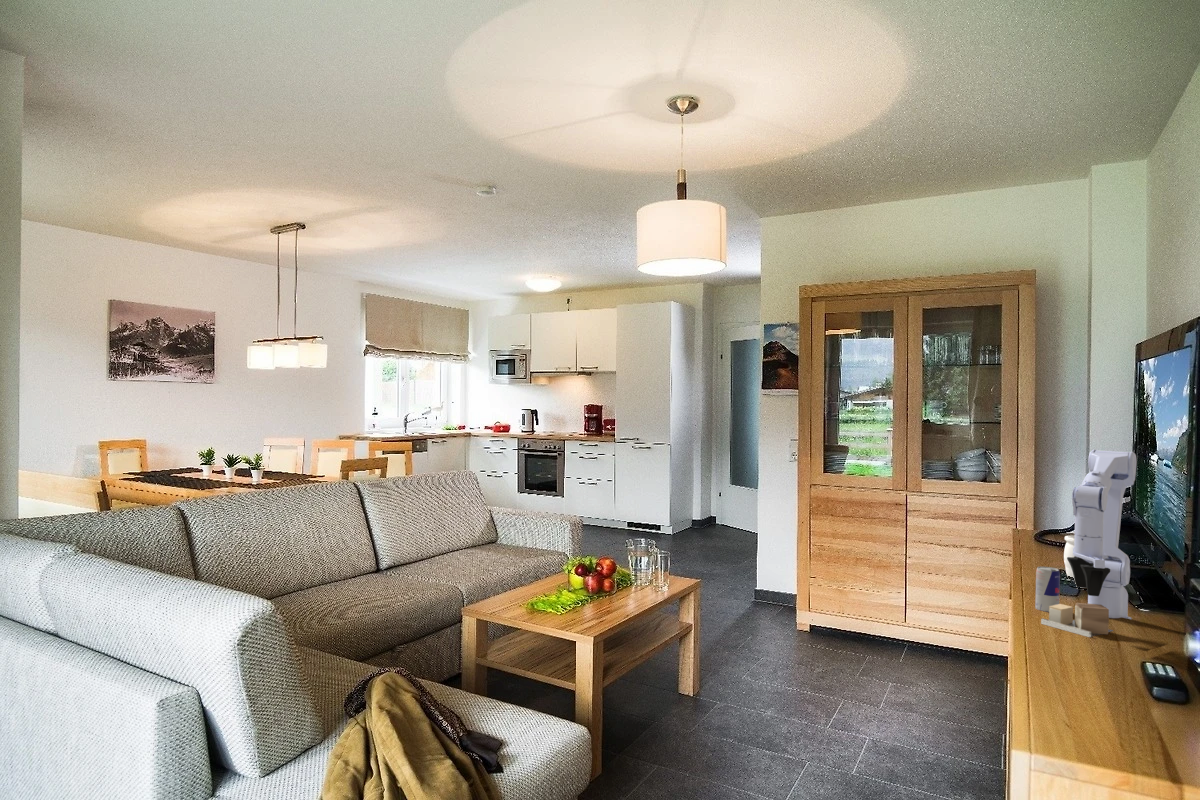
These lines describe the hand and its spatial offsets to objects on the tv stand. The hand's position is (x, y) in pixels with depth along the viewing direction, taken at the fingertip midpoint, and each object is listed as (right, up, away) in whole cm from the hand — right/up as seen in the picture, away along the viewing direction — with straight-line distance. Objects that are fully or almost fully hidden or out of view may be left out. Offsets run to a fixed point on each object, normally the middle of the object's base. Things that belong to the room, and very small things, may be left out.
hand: (1087, 591), depth 174 cm
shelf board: (-2, -10, +1) cm, 10 cm away
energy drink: (0, -11, +16) cm, 19 cm away
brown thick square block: (0, -9, -1) cm, 9 cm away
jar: (+30, -11, +45) cm, 55 cm away
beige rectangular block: (-3, -9, +5) cm, 11 cm away
